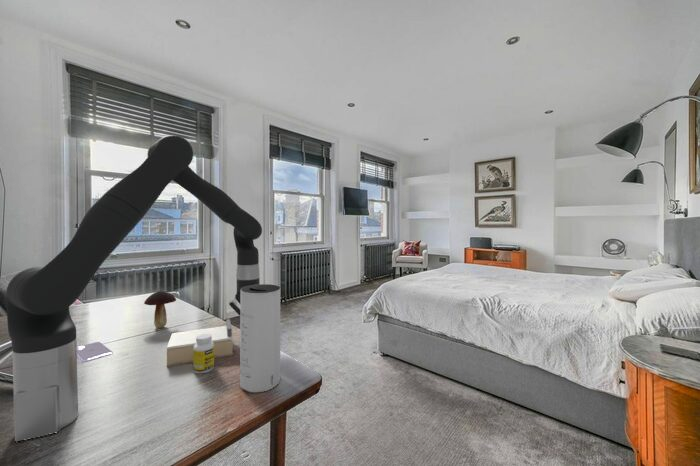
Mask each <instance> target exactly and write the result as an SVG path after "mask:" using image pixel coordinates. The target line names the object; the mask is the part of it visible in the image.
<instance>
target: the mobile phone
mask: <svg viewBox="0 0 700 466" xmlns="http://www.w3.org/2000/svg"><path fill="white" fill-rule="evenodd" d="M113 354H114V351H112V350H111V349H110V348H108V347H107V346H106V345H104V344H103V343H102V342H100V341H96V342H92V343H88V344H83V345H80V346H77V358H78V359H79V360H80V361H81V362H83V363H85V362H91V361H93V360H96V359H100V358H104V357H107V356H110V355H113Z"/></svg>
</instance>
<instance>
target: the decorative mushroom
mask: <svg viewBox="0 0 700 466" xmlns="http://www.w3.org/2000/svg"><path fill="white" fill-rule="evenodd" d="M176 301H177V298H176V297H175V295H173V294H172V293H170V292H167V291H163V290H159V291H155V292H154V293H152V294H150V295H149V296H148V297H147V298H146V299H145V300H144V303H143V305H146V306H155V308H154V309H155V310H154V317H153V320H154V321H153V325H154V327H155V328H156V329H163V328H165V327H166V326H167V323H168V320H167V316H168V315H167V311H166V310H167V309H166V306H165V304H170V303H174V302H176Z"/></svg>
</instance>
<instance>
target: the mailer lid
mask: <svg viewBox="0 0 700 466" xmlns="http://www.w3.org/2000/svg"><path fill="white" fill-rule="evenodd" d="M225 323H226V325H222V326H216V327H207V328H200V329H193V330H185V331H179V332H172V333H171V336H170V339H169V341H168V344H167V346H166V351H167V350H168V349H174V348H181V347H187V346H194V345H195V344H197V343H196V337H197V336H199V335H202V334H211V335H212V340H211V341H212V342H213V343H214V342H220V341H227V340H232V341H233V334H232V324H231V319H230V318H229V319H226V321H225Z"/></svg>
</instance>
